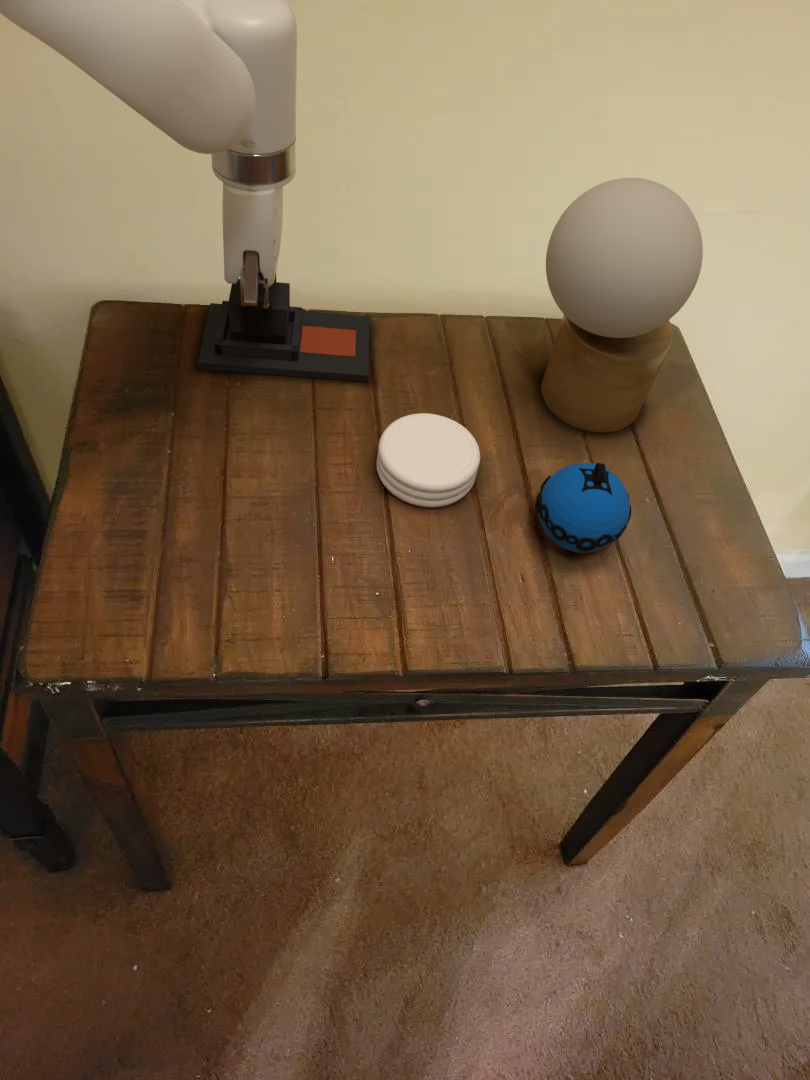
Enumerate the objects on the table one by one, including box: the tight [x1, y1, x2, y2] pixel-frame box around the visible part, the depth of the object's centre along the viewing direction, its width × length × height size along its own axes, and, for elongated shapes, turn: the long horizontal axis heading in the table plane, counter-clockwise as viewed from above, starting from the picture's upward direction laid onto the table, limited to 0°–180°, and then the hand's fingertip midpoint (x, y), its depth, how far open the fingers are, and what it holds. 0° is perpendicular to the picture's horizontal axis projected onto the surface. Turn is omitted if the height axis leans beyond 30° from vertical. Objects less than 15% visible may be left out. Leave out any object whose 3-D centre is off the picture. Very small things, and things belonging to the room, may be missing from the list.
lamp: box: [540, 177, 704, 434], centre depth 81 cm, size 15×14×25 cm
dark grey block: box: [227, 278, 291, 336], centre depth 87 cm, size 6×4×4 cm
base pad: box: [197, 300, 370, 383], centre depth 90 cm, size 18×10×2 cm, turn 91°
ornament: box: [534, 462, 632, 554], centre depth 75 cm, size 9×9×10 cm
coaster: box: [375, 412, 481, 508], centre depth 81 cm, size 10×10×4 cm
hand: (259, 316), depth 88 cm, fingers closed on dark grey block, 4 cm apart
